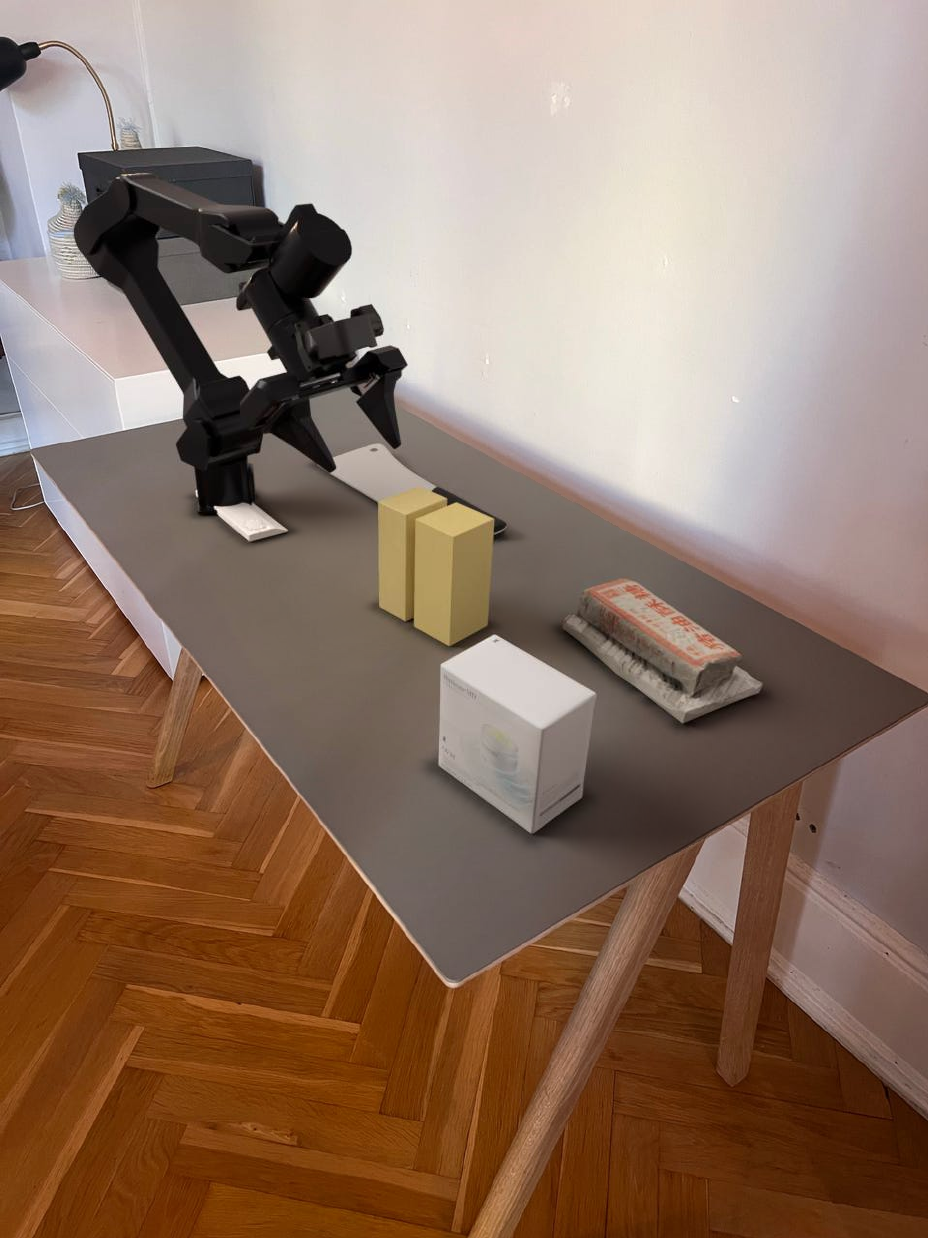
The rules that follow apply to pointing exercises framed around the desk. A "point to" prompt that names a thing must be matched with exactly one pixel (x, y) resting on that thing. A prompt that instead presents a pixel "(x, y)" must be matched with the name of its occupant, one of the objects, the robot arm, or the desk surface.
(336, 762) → the desk surface
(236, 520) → the white flat slab
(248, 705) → the desk surface
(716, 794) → the desk surface
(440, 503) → the yellow rectangular block
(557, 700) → the cosmetics box
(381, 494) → the kitchen cleaver
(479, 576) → the butter block
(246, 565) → the desk surface
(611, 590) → the packaged product
